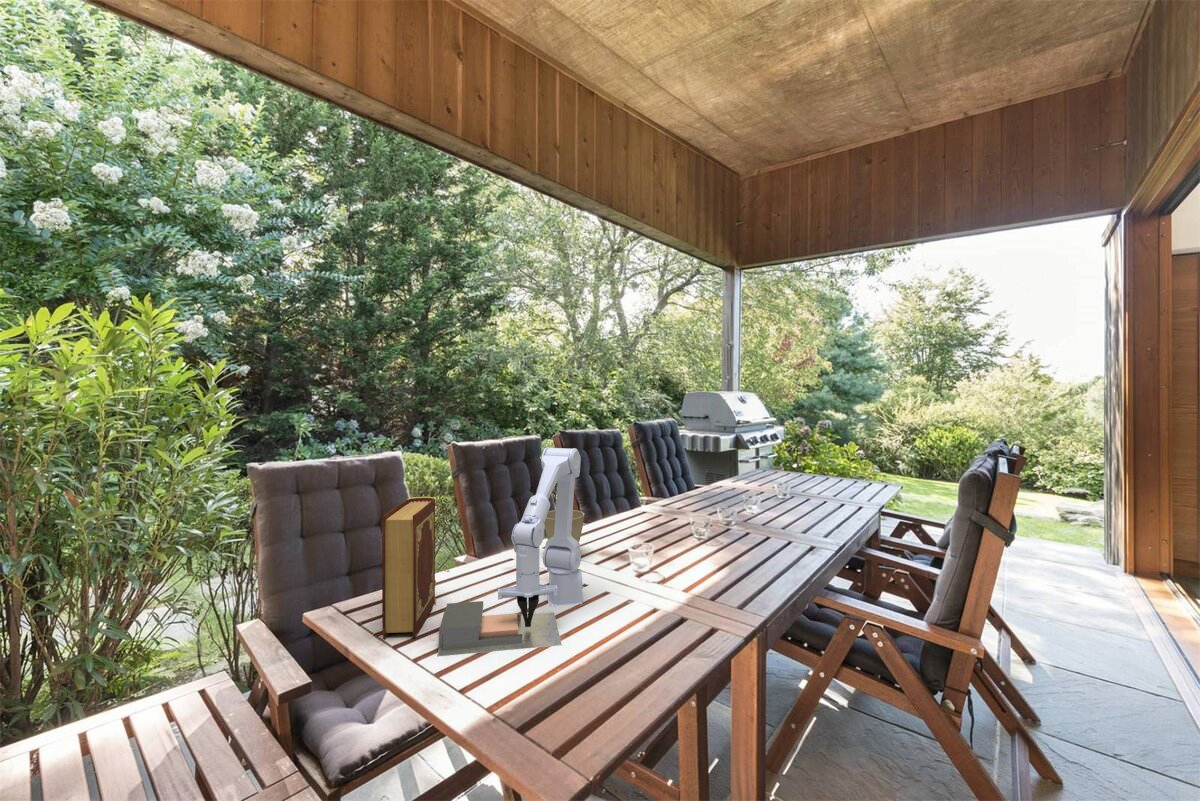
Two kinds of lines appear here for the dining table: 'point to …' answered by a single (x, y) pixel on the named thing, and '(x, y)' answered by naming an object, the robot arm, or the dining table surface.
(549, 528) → the plant pot
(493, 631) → the peach rectangular panel
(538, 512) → the robot arm
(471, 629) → the dock
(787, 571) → the dining table surface
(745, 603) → the dining table surface
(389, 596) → the decorative book
